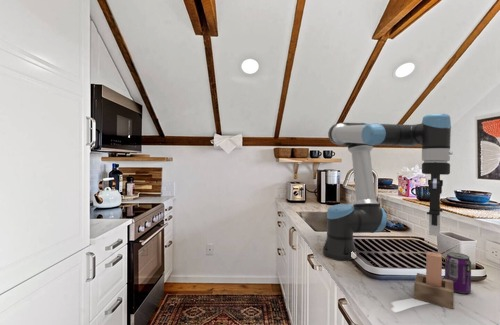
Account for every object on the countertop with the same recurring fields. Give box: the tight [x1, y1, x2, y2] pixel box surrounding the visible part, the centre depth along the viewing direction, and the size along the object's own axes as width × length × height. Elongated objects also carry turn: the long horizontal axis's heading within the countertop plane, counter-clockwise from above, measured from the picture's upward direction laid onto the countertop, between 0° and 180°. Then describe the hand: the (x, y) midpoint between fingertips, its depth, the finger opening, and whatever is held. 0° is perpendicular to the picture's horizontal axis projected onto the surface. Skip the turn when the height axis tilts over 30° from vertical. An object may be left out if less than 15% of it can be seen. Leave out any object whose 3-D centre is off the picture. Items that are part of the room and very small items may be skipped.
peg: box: [425, 251, 443, 287], centre depth 86 cm, size 4×4×14 cm
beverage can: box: [444, 251, 472, 294], centre depth 91 cm, size 7×7×12 cm
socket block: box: [413, 272, 455, 310], centre depth 86 cm, size 10×10×5 cm
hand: (434, 233), depth 86 cm, fingers open, 6 cm apart
